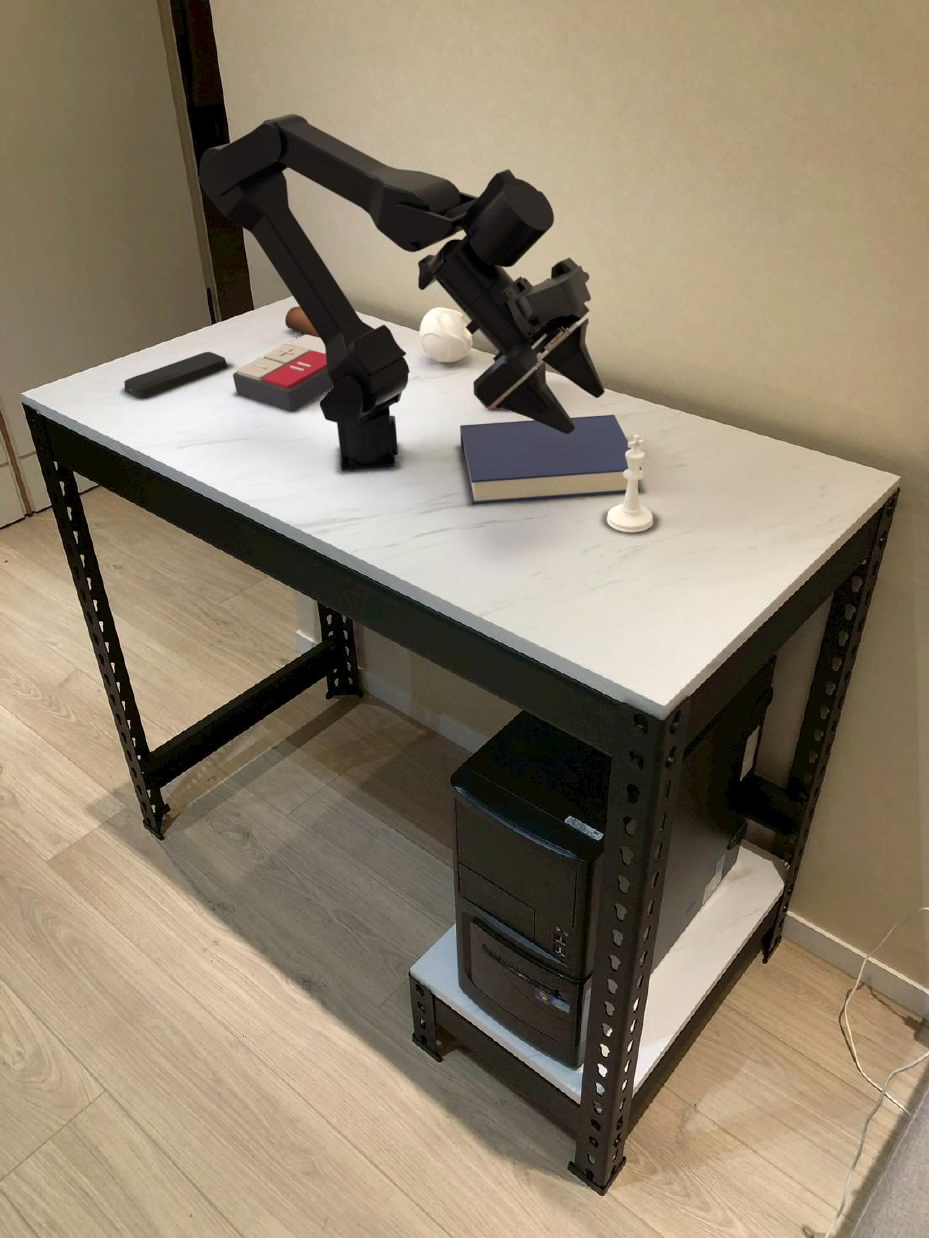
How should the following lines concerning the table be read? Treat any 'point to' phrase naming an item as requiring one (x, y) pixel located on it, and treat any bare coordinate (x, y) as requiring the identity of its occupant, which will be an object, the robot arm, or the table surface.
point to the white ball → (445, 335)
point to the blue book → (544, 459)
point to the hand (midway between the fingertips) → (587, 412)
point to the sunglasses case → (299, 322)
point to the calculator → (286, 374)
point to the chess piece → (631, 495)
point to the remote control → (174, 374)
